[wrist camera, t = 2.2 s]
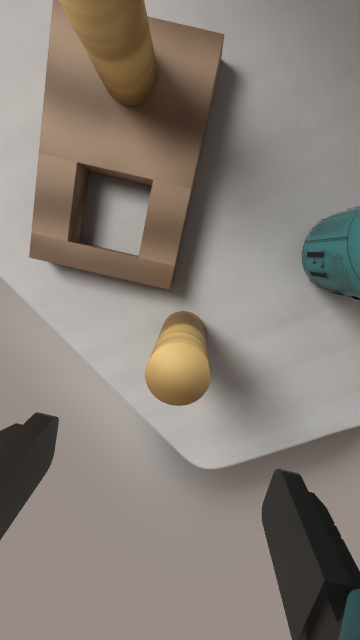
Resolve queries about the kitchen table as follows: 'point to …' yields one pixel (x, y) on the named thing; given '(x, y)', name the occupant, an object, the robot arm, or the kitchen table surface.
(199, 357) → the pin
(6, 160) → the kitchen table surface
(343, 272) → the beverage bottle
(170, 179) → the pin plate
